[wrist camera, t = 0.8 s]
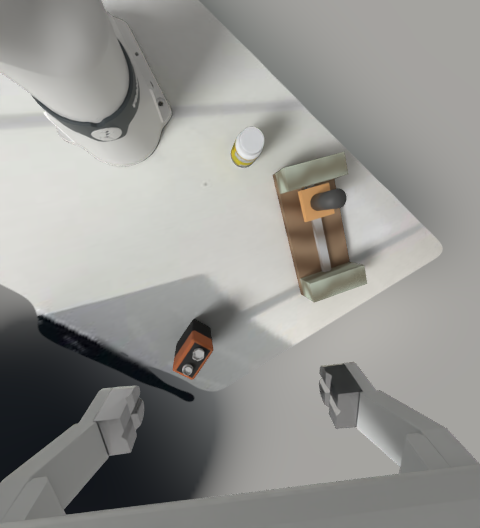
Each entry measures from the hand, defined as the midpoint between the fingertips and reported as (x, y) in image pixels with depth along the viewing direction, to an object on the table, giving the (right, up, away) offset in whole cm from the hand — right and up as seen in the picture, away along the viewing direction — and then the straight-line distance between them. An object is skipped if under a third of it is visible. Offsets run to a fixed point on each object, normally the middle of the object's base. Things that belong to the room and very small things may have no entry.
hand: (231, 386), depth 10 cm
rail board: (+16, +13, +40) cm, 45 cm away
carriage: (+15, +18, +37) cm, 43 cm away
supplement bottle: (+1, +27, +35) cm, 44 cm away
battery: (-9, -10, +39) cm, 41 cm away
